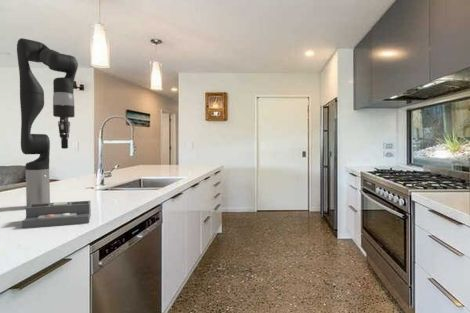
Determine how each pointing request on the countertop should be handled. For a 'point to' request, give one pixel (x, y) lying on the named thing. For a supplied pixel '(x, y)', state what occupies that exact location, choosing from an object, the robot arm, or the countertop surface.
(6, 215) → the countertop surface
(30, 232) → the countertop surface
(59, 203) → the key sage
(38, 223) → the keypad
